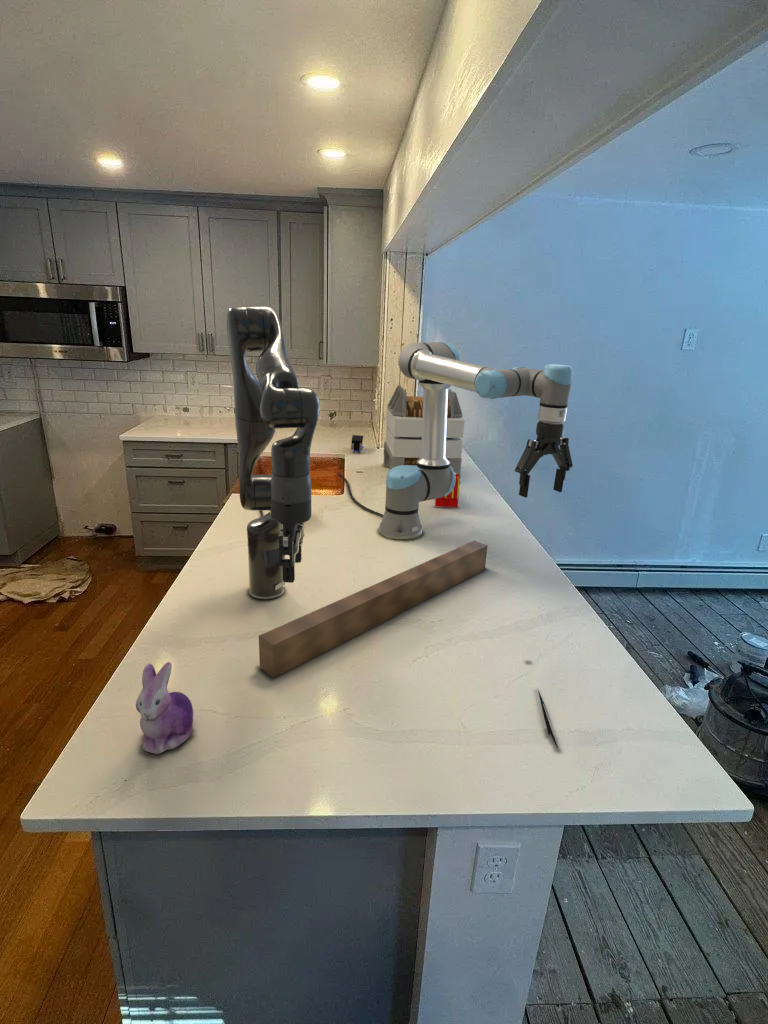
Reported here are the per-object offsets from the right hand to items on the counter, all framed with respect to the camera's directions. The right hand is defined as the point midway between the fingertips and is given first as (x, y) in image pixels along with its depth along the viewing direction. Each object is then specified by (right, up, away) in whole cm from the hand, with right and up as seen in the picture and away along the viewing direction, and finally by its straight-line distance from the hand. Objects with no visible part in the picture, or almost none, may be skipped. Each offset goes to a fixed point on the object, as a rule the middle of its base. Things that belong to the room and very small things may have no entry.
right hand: (540, 493), depth 166 cm
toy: (-21, +1, +75) cm, 78 cm away
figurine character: (-61, +28, +146) cm, 160 cm away
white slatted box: (-29, +13, +109) cm, 113 cm away
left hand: (-64, -17, -53) cm, 85 cm away
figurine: (-85, -46, -64) cm, 116 cm away
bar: (-44, -31, -17) cm, 56 cm away
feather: (-14, -45, -50) cm, 68 cm away
